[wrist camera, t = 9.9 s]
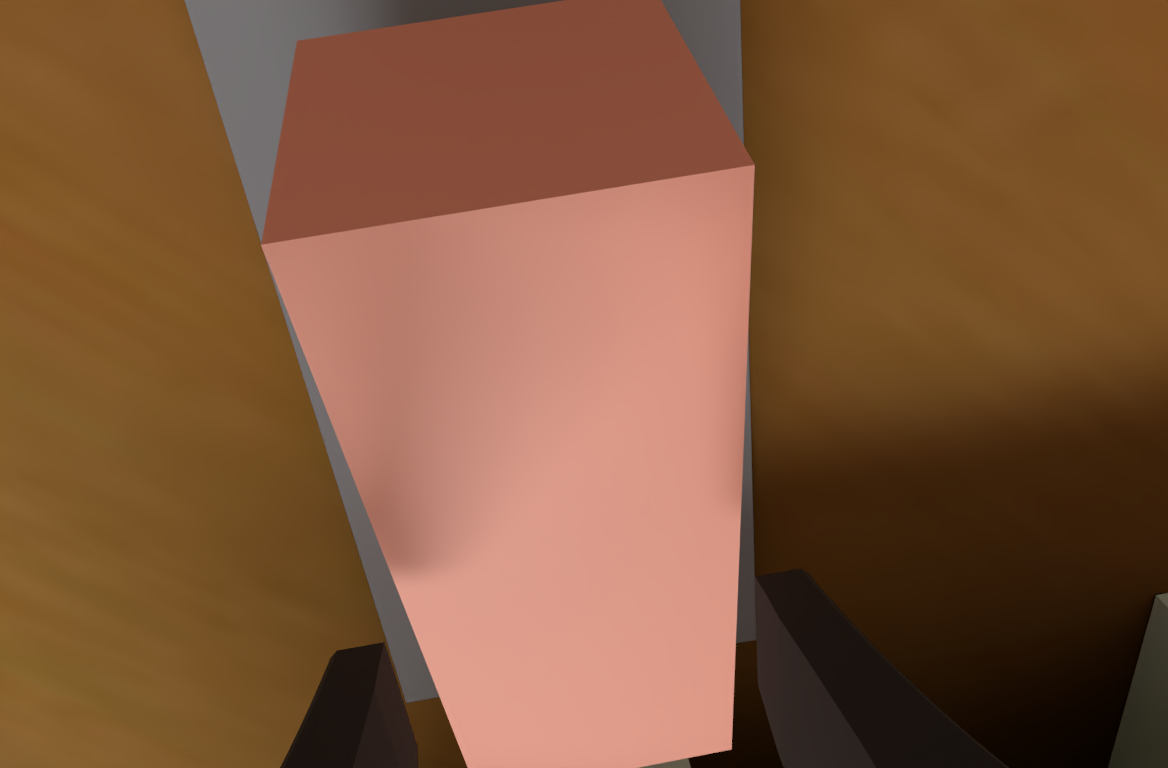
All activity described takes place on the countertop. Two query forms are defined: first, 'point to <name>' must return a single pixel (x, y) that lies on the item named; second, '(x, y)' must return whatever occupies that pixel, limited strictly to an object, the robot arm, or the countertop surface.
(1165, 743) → the shelf cubby
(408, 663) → the mat
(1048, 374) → the countertop surface
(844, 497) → the countertop surface
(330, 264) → the plain pink rectangular block
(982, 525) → the countertop surface
